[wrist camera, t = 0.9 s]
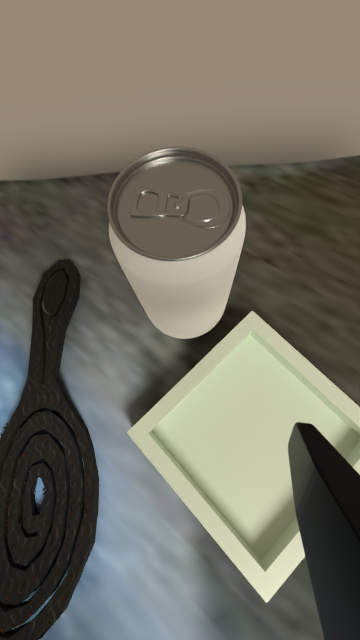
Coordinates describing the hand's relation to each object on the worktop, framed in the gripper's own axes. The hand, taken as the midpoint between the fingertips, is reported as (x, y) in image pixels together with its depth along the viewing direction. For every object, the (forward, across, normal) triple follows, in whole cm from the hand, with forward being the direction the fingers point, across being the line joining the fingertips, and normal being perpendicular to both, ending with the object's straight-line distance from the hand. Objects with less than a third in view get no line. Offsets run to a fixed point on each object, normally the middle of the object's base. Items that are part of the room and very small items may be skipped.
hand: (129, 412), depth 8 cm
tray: (+9, -6, +10) cm, 15 cm away
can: (+16, 0, +4) cm, 16 cm away
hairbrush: (+9, +9, +11) cm, 17 cm away
